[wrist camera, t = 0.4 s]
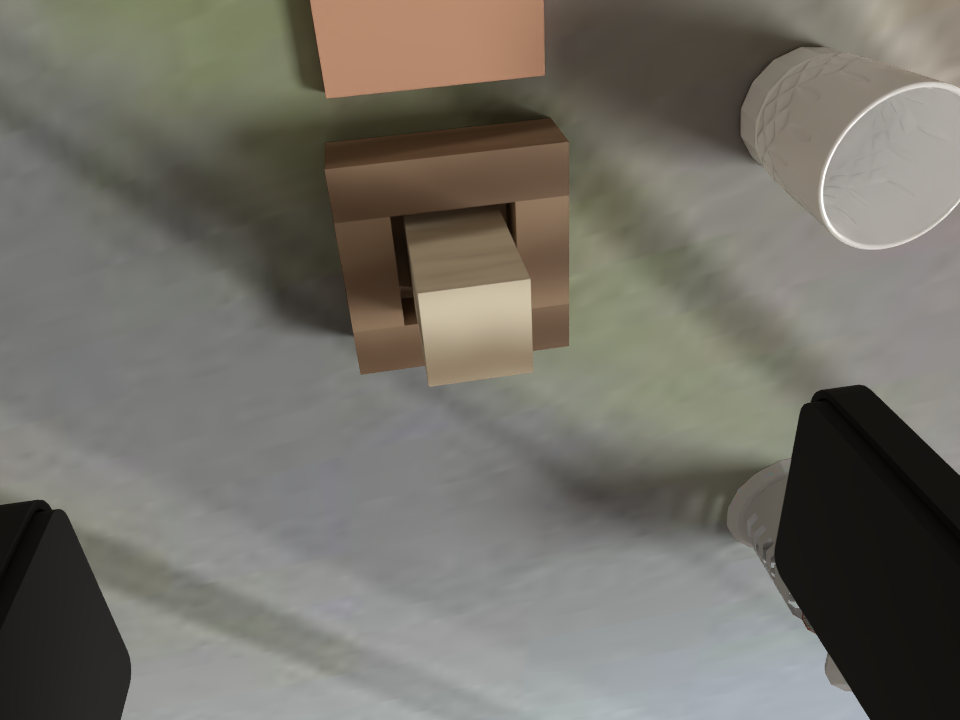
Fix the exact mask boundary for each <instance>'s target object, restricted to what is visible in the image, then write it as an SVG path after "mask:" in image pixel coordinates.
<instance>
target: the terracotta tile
mask: <svg viewBox="0 0 960 720" xmlns="http://www.w3.org/2000/svg"><path fill="white" fill-rule="evenodd" d="M310 3H311V9H312V15H313V21H314V27H315V33H316V39H317V45H318V51H319V57H320V63H321V69H322V75H323V81H324V87H325V93H326V98H336V97H345V96H355V95H364V94H374V93H383V92H393V91H402V90H412V89H421V88H431V87H440V86H450V85H459V84H469V83H478V82H488V81H497V80H507V79H516V78H526V77H535V76H545V49H544V0H310Z"/></svg>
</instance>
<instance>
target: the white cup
mask: <svg viewBox="0 0 960 720" xmlns="http://www.w3.org/2000/svg"><path fill="white" fill-rule="evenodd" d="M741 138H742V140H743V141H744V143H745V145H746V147H747V149H748V151H749V153H750V154H751V156H752V157H753V158H754V159H755V160H756V161H757V162H758V163H759V164H760V165H761V166H763V167H764V168H765V169H766V171H767V172H768V173H769V174H770V176H771V177H772V178H773V179H774V180H775V181H776V182H777V183H778V184H779V185H780V186H781V187H783V189H784V190H785V191H786V192H787V193H788V194H789V195H790V196H791V197H792V198H793V199H794V200H795V201H797V202H798V203H799V204H800V205H801V206H802V207H803V208H804V209H805V210H806V211H808V212H809V213H810V214H811V215H812V216H813V217H814V218H815V219H816V220H817V221H818V222H819V223H821V224H822V225H823V226H824V227H825V228H826V229H827V230H828V231H829V232H830V233H831V234H832V235H833V236H835V237H836V238H837V239H838V240H840V241H841V242H843V243H845V244H847V245H849V246H852V247H856V248H860V249H869V250H875V249H885V248H890V247H894V246H898V245H901V244H903V243H906V242H908V241H911V240H913V239H915V238H917V237H919V236H920V235H922V234H924V233H925V232H927V231H929V230H930V229H931V228H933V227H934V226H935V225H937V224H938V223H939V222H940V221H942V220H943V219H944V218H945V217H946V216H947V215H948V214H949V213H950V212H951V211H952V210H953V209H954V208H955V207H956V206H957V204H958V203H959V202H960V88H958V87H956V86H954V85H951V84H948V83H945V82H942V81H939V80H935V79H932V78H929V77H926V76H923V75H920V74H917V73H914V72H911V71H908V70H905V69H902V68H899V67H896V66H893V65H890V64H886V63H883V62H879V61H875V60H871V59H868V58H865V57H862V56H857V55H853V54H847V53H843V52H840V51H837V50H834V49H831V48H828V47H800V48H797V49H795V50H793V51H791V52H789V53H787V54H785V55H783V56H780V57H778V58H776V59H774V60H773V61H772V62H771V63H770V64H769V65H768V66H767V67H766V68H765V69H764V70H763V72H762V73H761V74H760V75H759V76H758V77H757V78H756V79H755V80H754V81H753V82H752V84H751V87H750V89H749V91H748V94H747V96H746V98H745V101H744V103H743V105H742V107H741Z"/></svg>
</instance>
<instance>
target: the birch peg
mask: <svg viewBox="0 0 960 720" xmlns="http://www.w3.org/2000/svg"><path fill="white" fill-rule="evenodd" d="M402 216H403V224H404V232H405V240H406V248H407V256H408V264H409V272H410V280H411V288H412V293H413V299H414V305H415V310H416V316H417V322H418V327H419V333H420V339H421V344H422V350H423V356H424V361H425V367H426V373H427V378H428V384H429V387H431V386H438V385H445V384H452V383H459V382H466V381H473V380H480V379H488V378H495V377H502V376H509V375H516V374H523V373H530V372H533V345H532V311H531V279H530V277H529V275H528V272H527V270H526V268H525V266H524V263H523V261H522V259H521V257H520V254H519V252H518V250H517V248H516V245H515V243H514V241H513V239H512V236H511V234H510V232H509V230H508V228H507V225H506V223H505V221H504V219H503V216H502V214H501V212H500V210H499V207H498V205H497V204H493V205H485V206H476V207H468V208H460V209H451V210H443V211H435V212H426V213H418V214H410V215H402Z"/></svg>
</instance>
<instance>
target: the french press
mask: <svg viewBox="0 0 960 720" xmlns="http://www.w3.org/2000/svg"><path fill="white" fill-rule="evenodd" d="M790 463H791V458H790V459H786V460H781V461H778V462H776V463H774V464H772V465H770V466H768V467H766V468H765V469H763V470H761V471H759V472H757V473H755V474H754V475H753V476H752V477H751V478H750V479H749V480H748V481H747V482H746V483H744V484H743V485H742V486H741V487H740V488H739V489H738V490H737V492H736V494H735V496H734V497H733V499H732V501H731V503H730V505H729V506H728V509H727V527H728V529H729V531H730V532H731V534H732V536H733V538H734V539H735V540H737V541H739V542H741V543H743V544H745V545H746V546H748V547H752V548H754V550H755V552H756V553H757V555H758V556H759V558H760V557H761V558H760V560H761V559H762V560H761V561H762V563H763V565H764V567H765V568H766V570H767V571H768V573H769V575H770V577H771V579H772V580H773V581H774V583H775V585H776V587H777V589H778V590H779V592H780V594H781V595H782V597H783V599H784V601H785V602H786V604H787V606H788V607H789V609H790V610H791V612H792V614H793V615H795V616H797V617H798V618H800V619H802V620H803V622H804V624H805V626H806V628H807V629H808V630H809V631H812V632H814V633H815V631H814V630H813V628H812V627H811V625H810V623H809V622H808V620H807V619H806V617H805V615H804V614H803V612H802V611H801V609H800V608H795V607H793V606H792V605H791V604H789V603H788V600H790V601H791V602H796V601H795V600H794V598H793V596H792V595H791V594H789V590H788V588H787V587H786V585H785V584H784V582H783V581H782V579H781V577H780V575H779V573H778V570H777V567H776V564H775V565H774V568H771V562H772V563H775V557H774V550H775V544H776V538H777V533H778V528H779V522H780V517H781V511H782V506H783V501H784V495H785V490H786V485H787V479H788V474H789V469H790ZM763 559H764V560H765V561H766V564H765V563H764V561H763ZM771 572H772V573H773V574H775V577H773V576H772V575H771ZM825 674H826V676H827V677H828V679H829V681H830V683H831V685H834V686H836V687H838V688H840V689H842V690H844V691H852V690H851V688H850V687H849V685H848V684H847V682H846V681H845V679H844V677H843V676H842V674H841V673H840V671H839V669H838V668H837V666H836V665H835V663H834V661H833V660H832V658H831V657H830V655H829V654H827V658H826V663H825Z"/></svg>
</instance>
